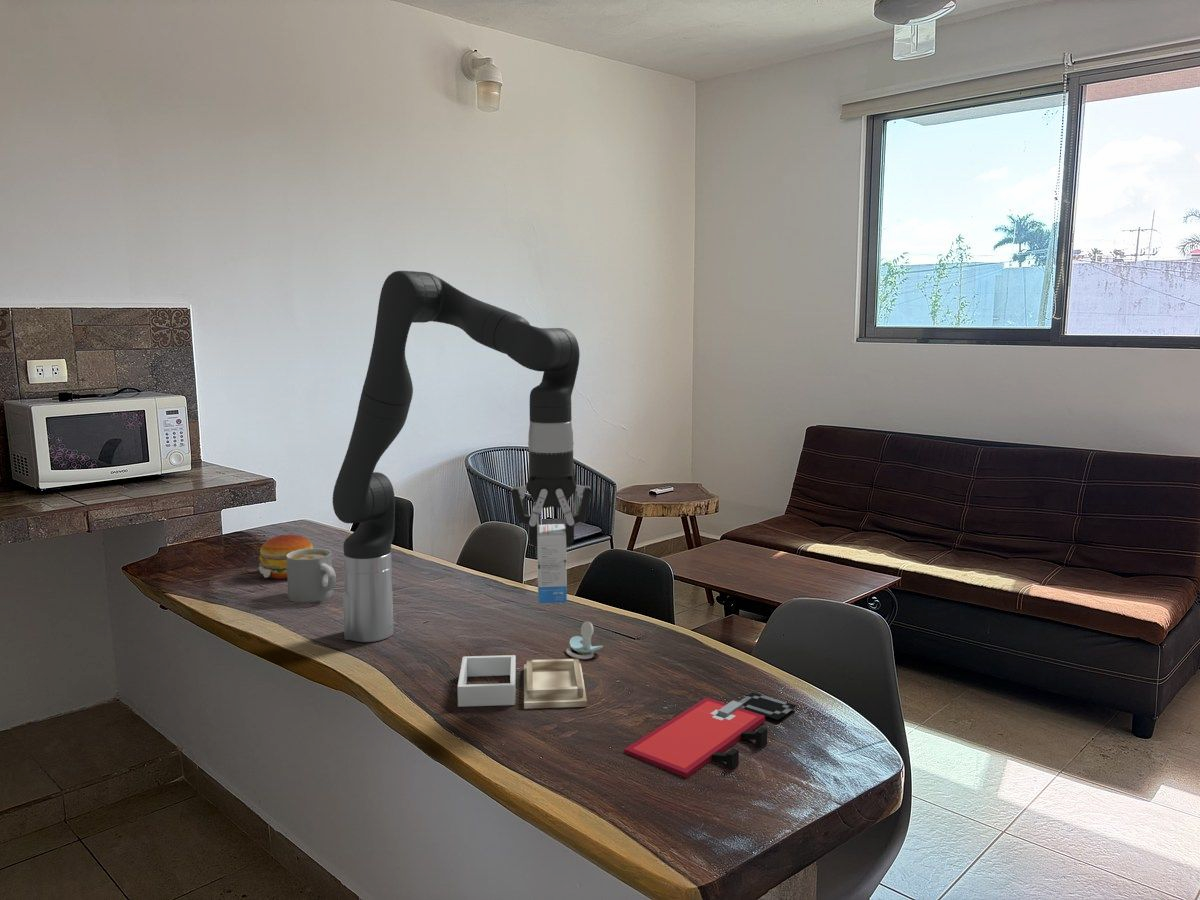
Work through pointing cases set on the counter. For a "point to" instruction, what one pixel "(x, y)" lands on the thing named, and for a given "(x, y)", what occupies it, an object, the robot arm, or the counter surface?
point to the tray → (554, 684)
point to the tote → (487, 692)
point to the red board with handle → (708, 733)
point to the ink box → (551, 563)
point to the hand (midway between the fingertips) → (551, 545)
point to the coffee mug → (310, 575)
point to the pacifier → (583, 643)
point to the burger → (280, 554)
